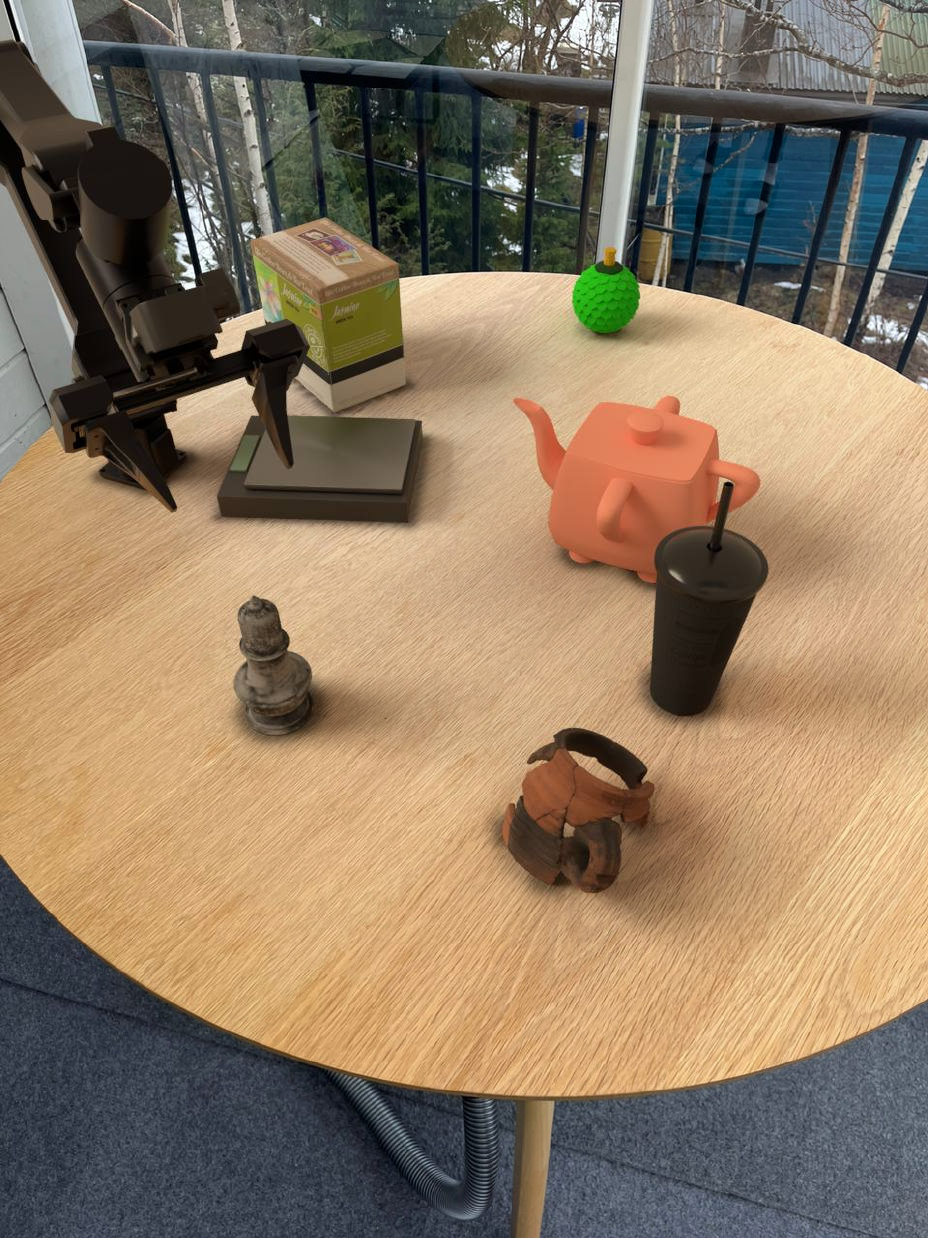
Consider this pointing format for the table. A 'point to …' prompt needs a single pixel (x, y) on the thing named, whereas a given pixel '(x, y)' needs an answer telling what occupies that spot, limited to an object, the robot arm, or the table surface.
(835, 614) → the table surface
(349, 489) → the scale pan
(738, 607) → the drinking cup
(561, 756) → the pottery mug
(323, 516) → the scale
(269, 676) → the chess piece
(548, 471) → the teapot
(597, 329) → the ornament
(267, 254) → the tea box
